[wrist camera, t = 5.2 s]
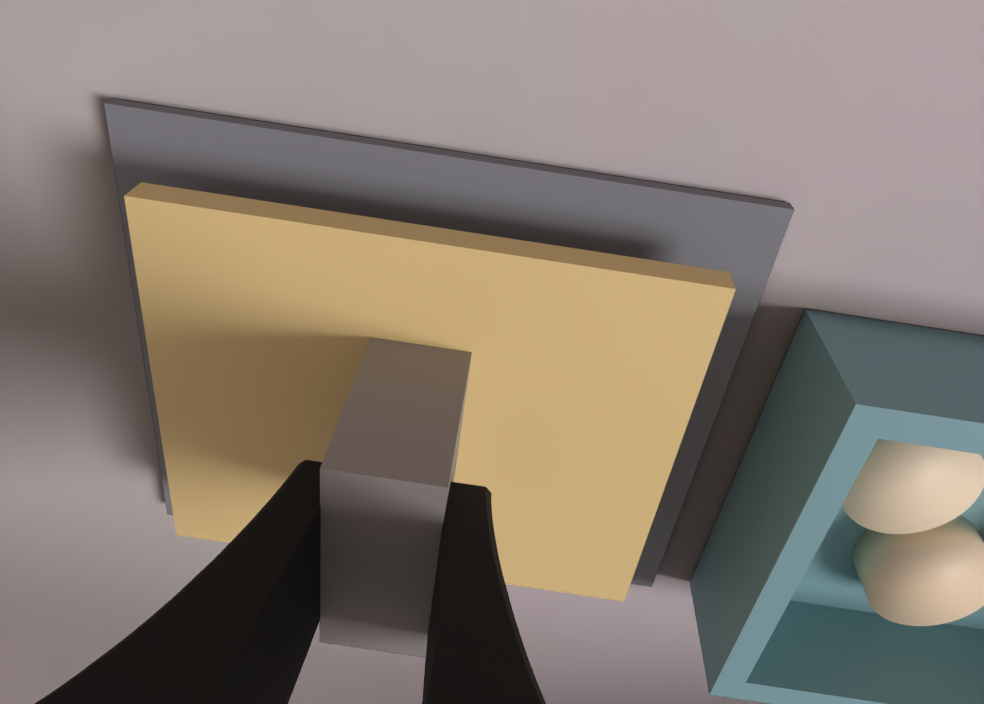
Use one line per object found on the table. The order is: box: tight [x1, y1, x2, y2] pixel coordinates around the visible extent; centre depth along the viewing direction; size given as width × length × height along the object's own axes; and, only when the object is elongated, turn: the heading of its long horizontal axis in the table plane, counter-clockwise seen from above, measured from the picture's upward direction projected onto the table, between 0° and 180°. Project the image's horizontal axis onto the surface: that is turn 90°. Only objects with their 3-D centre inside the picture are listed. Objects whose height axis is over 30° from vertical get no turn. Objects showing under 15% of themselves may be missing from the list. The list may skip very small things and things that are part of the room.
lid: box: [124, 182, 736, 657], centre depth 13 cm, size 10×8×4 cm
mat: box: [104, 99, 794, 587], centre depth 16 cm, size 12×10×1 cm
